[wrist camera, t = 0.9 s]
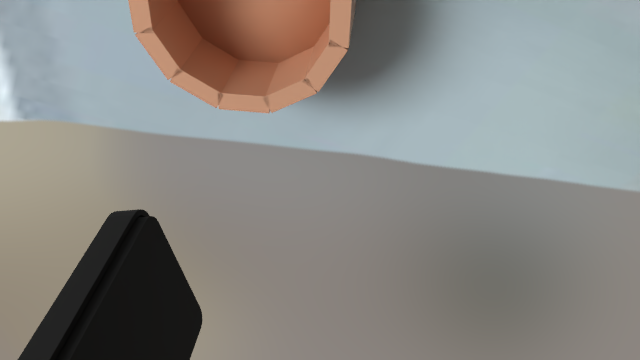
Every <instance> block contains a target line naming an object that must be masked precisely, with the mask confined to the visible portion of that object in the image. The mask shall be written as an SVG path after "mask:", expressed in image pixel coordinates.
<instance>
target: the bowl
mask: <svg viewBox="0 0 640 360" xmlns="http://www.w3.org/2000/svg"><path fill="white" fill-rule="evenodd" d="M128 1H129V7H130V13H131V18H132V24H133V30H134V32H137V33H136V34H135V35H136V37H137V38H138V40H139V41H140V42H141V44H142V45H143V46H144V48H145V49H146V51H147V52H148V53H149V55H150V56H151V57H152V59H153V60H154V62H155V63H156V64H157V66H158V67H159V68H160V70H161V71H162V72H163V74H164V75H165V77H166V78H167V79H168V80H169V79H171V78H172V79H171V81H170V82H171V83H173V84H175V85H177V86H178V87H180V88H182V89H184V90H185V91H187V92H189V93H191V94H192V95H194V96H196V97H198V98H199V99H201V100H203V101H205V102H206V103H208V104H210V105H212V106H213V107H215V108H217V106H218V105H219V109H224V110H237V111H249V112H261V113H270V111H271V112H275V111H277V110H279V109H282V108H284V107H286V106H289V105H291V104H293V103H296V102H298V101H300V100H302V99H305V98H307V97H309V96H312V95H314V94H316V93H317V91H318V92H319V91H320V89H321V88H322V86H323V85H324V83H325V82H326V81H327V79H328V78H329V76H330V75H331V74H332V72H333V71H334V69H335V68H336V66H337V65H338V64H339V62H340V61H341V59H342V58H343V57H344V55H345V54H346V52H347V51H348V48H349V43H350V38H351V32H352V27H353V21H354V16H355V6H356V0H128Z"/></svg>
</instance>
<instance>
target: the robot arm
mask: <svg viewBox="0 0 640 360" xmlns="http://www.w3.org/2000/svg"><path fill="white" fill-rule="evenodd" d="M201 325H202V312H201V309H200V306H199V304H198V302H197V300H196V298H195V296H194V294H193V292H192V290H191V288H190V286H189V284H188V282H187V280H186V278H185V276H184V274H183V271H182V270H181V267H180V266H179V263H178V261H177V260H176V257H175V255H174V253H173V251H172V249H171V247H170V245H169V243H168V241H167V239H166V237H165V235H164V233H163V231H162V228H161V226H160V224H159V222H158V221H157V219H156V218H155V217H152V216H149V215H148V213H147V212H146V211H144V210H130V211H116V212H113V213H111V214H110V215H109V216H108V218H107V219H106V221H105V222H104V224H103V225H102V227H101V229H100V230H99V232H98V233H97V235H96V237H95V238H94V240H93V241H92V243H91V244H90V246H89V248H88V249H87V251H86V252H85V254H84V256H83V257H82V259H81V261H80V262H79V263H78V265H77V267H76V268H75V270H74V271H73V273H72V275H71V276H70V278H69V279H68V281H67V283H66V284H65V286H64V287H63V289H62V291H61V292H60V294H59V295H58V297H57V298H56V300H55V302H54V303H53V305H52V306H51V308H50V310H49V311H48V313H47V314H46V316H45V317H44V319H43V321H42V322H41V324H40V325H39V327H38V328H37V330H36V332H35V333H34V335H33V336H32V338H31V340H30V341H29V343H28V344H27V346H26V348H25V349H24V351H23V352H22V354H21V355H20V357H19V359H18V360H190V357H191V354H192V351H193V349H194V346H195V343H196V340H197V337H198V335H199V332H200V329H201Z"/></svg>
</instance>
